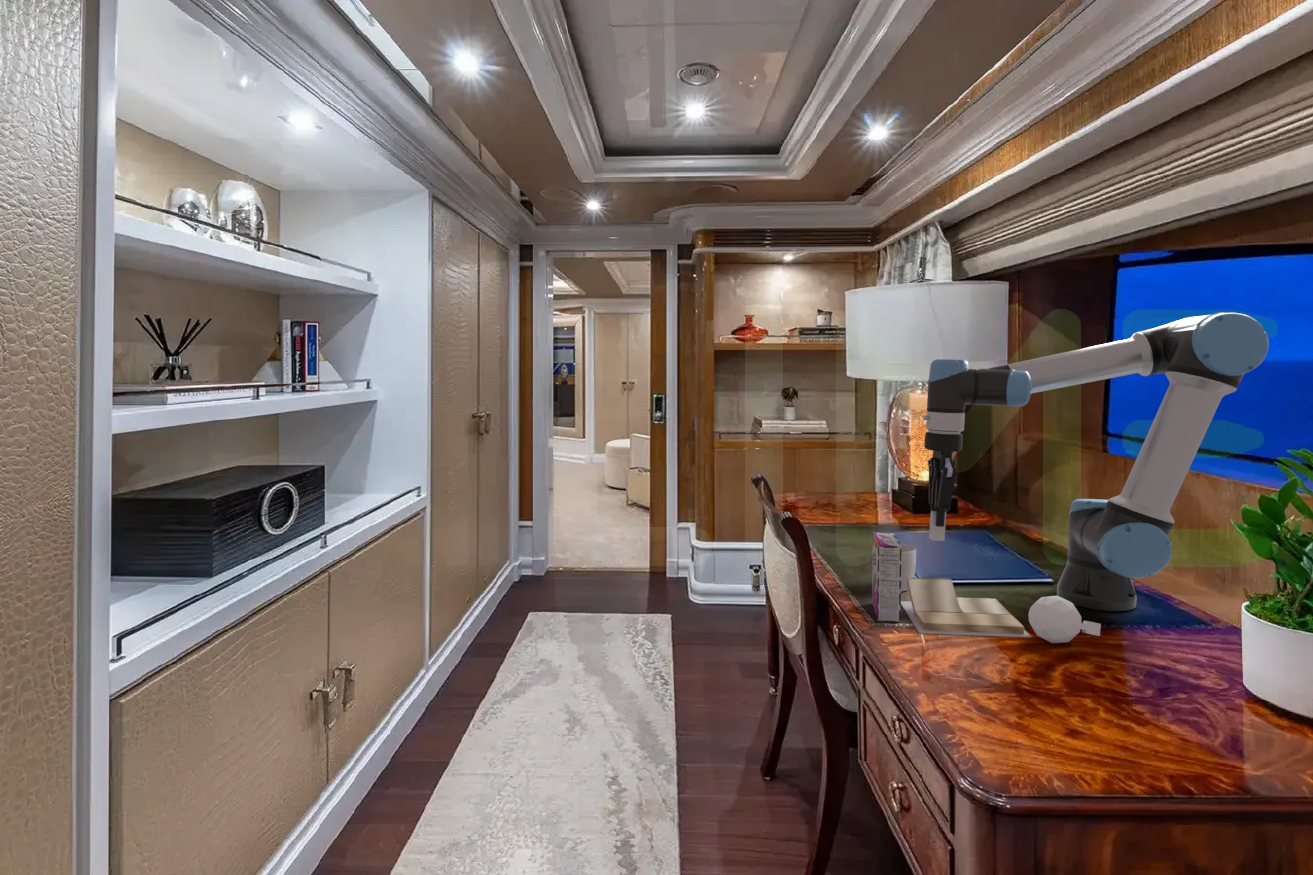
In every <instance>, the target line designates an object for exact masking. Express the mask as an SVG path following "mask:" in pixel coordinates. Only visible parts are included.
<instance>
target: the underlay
mask: <svg viewBox="0 0 1313 875" xmlns="http://www.w3.org/2000/svg"><path fill="white" fill-rule="evenodd" d="M901 608H902V609H903V610H904V612H905V613H906V614H907V616H908V618H909V619H910V621H911V622H912V624H913V625H914V627H915V629H916V630H917V632H918V633H919V634H926V635H927V634H930V635H953V636H975V637H976V636H977V637H978V636H980V637H981V636H982V637H1003V638H1004V637H1005V638H1008V637H1009V638H1030V639H1031V638H1032V635H1031V633H1029V632H1028V631H1026V630H1025V629H1024V634H1011V633H985V632H958V631H932V630H923V629H922V627H921V626H920V624H919V623H918V621H917V620H916V618H915V615H914V611H913V607H912V603H911V601H906V600H905V601H903V600H901Z"/></svg>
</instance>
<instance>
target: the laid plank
mask: <svg viewBox="0 0 1313 875" xmlns="http://www.w3.org/2000/svg"><path fill="white" fill-rule="evenodd" d="M915 618H916V620H917V621H918V623H919V624H920V626H921V627H922V629H923V630H932V631H958V632H985V633H1011V634H1024V630H1025V626H1024V625H1023V624H1022V623H1021V622H1020V621H1019V620H1018V619H1017V618H1016V617H1014V616H1013V615H1012V614H1011V615H1004V614H975V613H946V612H917V611H916V615H915Z"/></svg>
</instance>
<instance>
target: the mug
mask: <svg viewBox="0 0 1313 875" xmlns="http://www.w3.org/2000/svg"><path fill="white" fill-rule="evenodd" d="M899 543H900V542H899ZM900 545H901V547H902V550H901V593H903V592H907V591H909V590H908V586H907V578H915V575H916V574H915V573H916V566H917V548H916V547H915V546H914V545H910V544H907V543H900Z"/></svg>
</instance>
